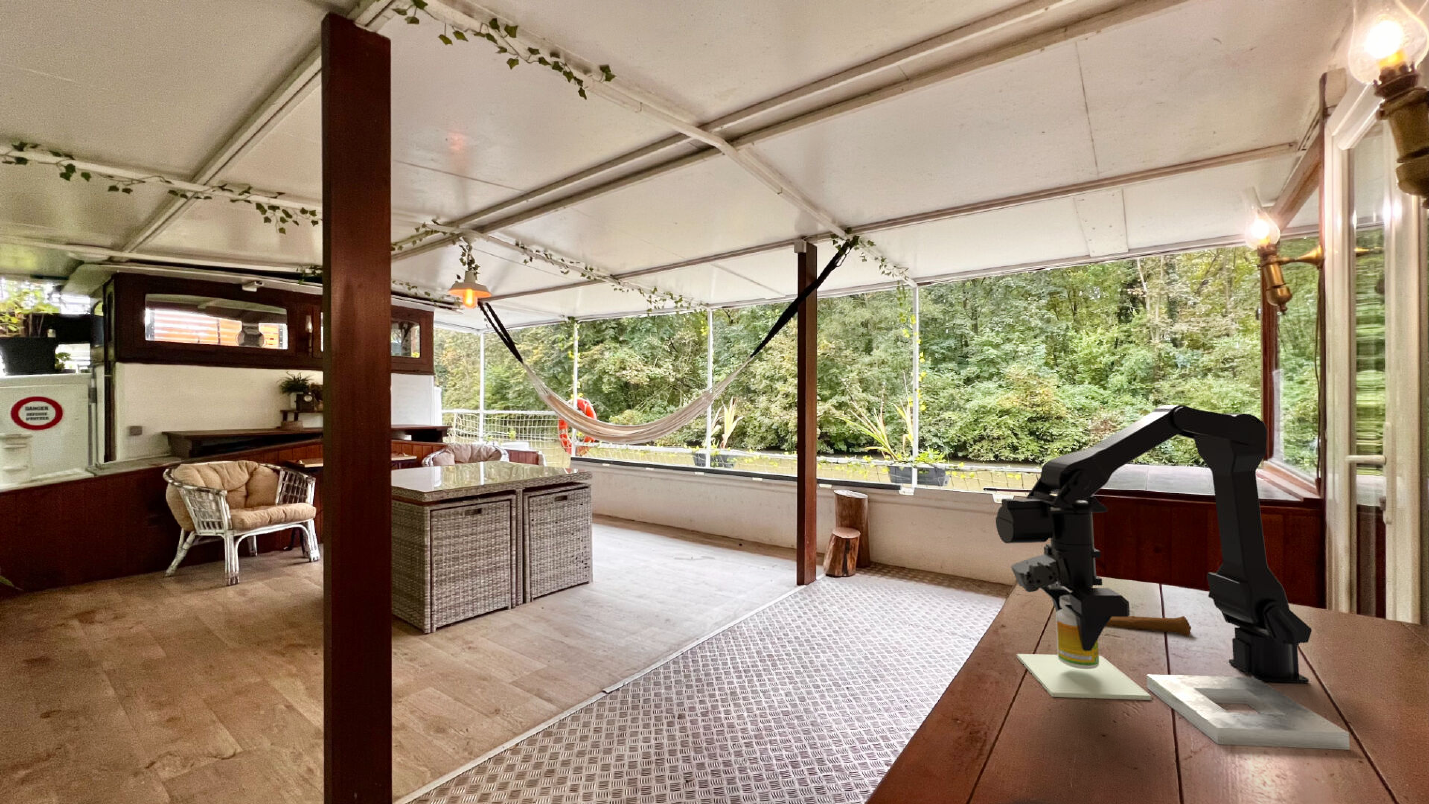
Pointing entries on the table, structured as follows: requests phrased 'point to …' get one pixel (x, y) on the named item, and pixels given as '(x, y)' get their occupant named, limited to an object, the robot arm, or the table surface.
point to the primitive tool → (1153, 624)
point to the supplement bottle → (1072, 640)
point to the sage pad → (1081, 679)
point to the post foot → (1272, 727)
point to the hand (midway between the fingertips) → (1077, 642)
